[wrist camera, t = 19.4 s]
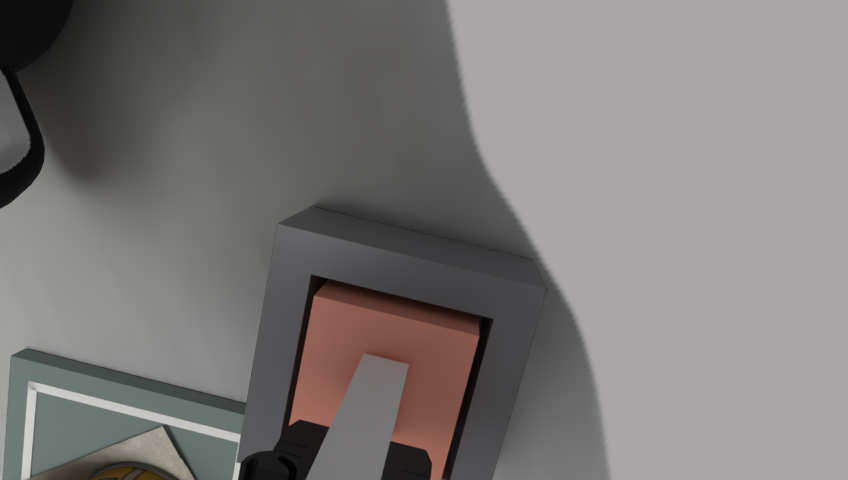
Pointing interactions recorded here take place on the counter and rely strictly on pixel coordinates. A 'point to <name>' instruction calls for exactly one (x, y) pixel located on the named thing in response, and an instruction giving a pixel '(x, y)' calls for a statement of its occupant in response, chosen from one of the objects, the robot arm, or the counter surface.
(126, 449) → the condiment
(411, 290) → the button housing
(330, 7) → the counter surface
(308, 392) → the button
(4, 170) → the mug
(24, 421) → the slate board
